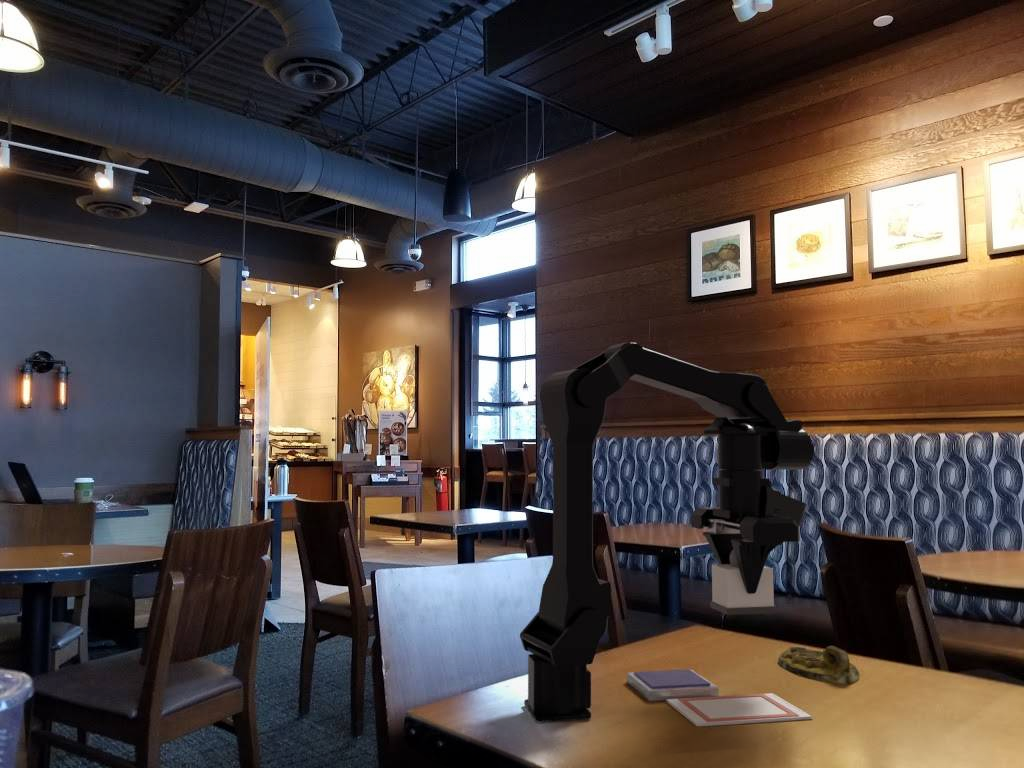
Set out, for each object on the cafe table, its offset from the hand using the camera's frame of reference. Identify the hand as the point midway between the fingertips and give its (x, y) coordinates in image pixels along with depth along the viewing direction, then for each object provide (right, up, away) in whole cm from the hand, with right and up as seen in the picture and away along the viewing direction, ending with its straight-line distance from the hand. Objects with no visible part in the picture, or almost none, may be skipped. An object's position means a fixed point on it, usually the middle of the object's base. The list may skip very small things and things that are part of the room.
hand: (742, 590), depth 103 cm
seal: (+13, -14, +7) cm, 20 cm away
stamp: (0, -3, 0) cm, 3 cm away
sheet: (-4, -11, -11) cm, 16 cm away
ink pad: (-10, -12, -3) cm, 16 cm away
